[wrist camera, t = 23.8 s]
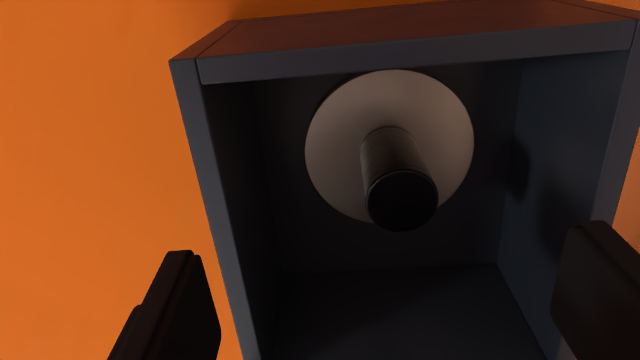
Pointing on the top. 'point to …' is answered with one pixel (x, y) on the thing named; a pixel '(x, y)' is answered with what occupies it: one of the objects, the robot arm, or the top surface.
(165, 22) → the top surface
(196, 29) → the top surface
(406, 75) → the pot lid
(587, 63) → the dark grey open box
